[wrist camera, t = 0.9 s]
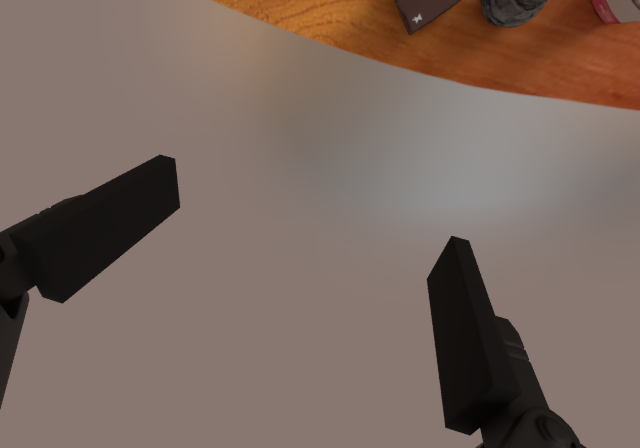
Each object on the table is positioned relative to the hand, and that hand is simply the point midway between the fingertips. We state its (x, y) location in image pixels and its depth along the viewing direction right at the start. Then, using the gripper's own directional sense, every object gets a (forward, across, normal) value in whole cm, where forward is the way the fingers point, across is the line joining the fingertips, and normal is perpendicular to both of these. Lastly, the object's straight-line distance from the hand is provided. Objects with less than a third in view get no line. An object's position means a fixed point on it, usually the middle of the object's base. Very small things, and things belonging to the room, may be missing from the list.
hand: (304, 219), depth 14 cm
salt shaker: (+34, +13, +13) cm, 38 cm away
